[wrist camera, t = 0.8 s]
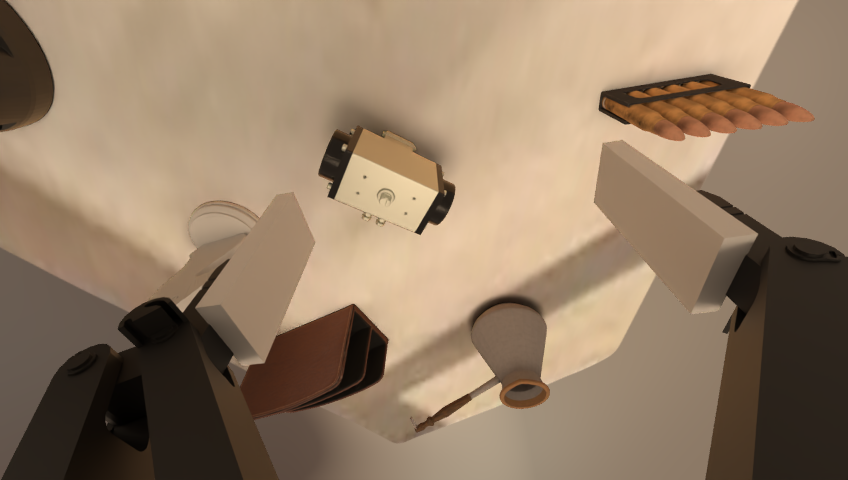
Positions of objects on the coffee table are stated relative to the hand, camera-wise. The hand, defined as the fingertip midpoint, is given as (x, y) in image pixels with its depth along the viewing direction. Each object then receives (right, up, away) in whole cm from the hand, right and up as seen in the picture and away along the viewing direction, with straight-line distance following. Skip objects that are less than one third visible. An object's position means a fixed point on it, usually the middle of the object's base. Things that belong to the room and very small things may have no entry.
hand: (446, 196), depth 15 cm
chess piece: (-26, -1, +29) cm, 39 cm away
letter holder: (-18, -19, +42) cm, 50 cm away
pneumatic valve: (-4, +8, +23) cm, 25 cm away
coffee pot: (+7, -16, +40) cm, 44 cm away
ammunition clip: (+22, +13, +20) cm, 33 cm away
